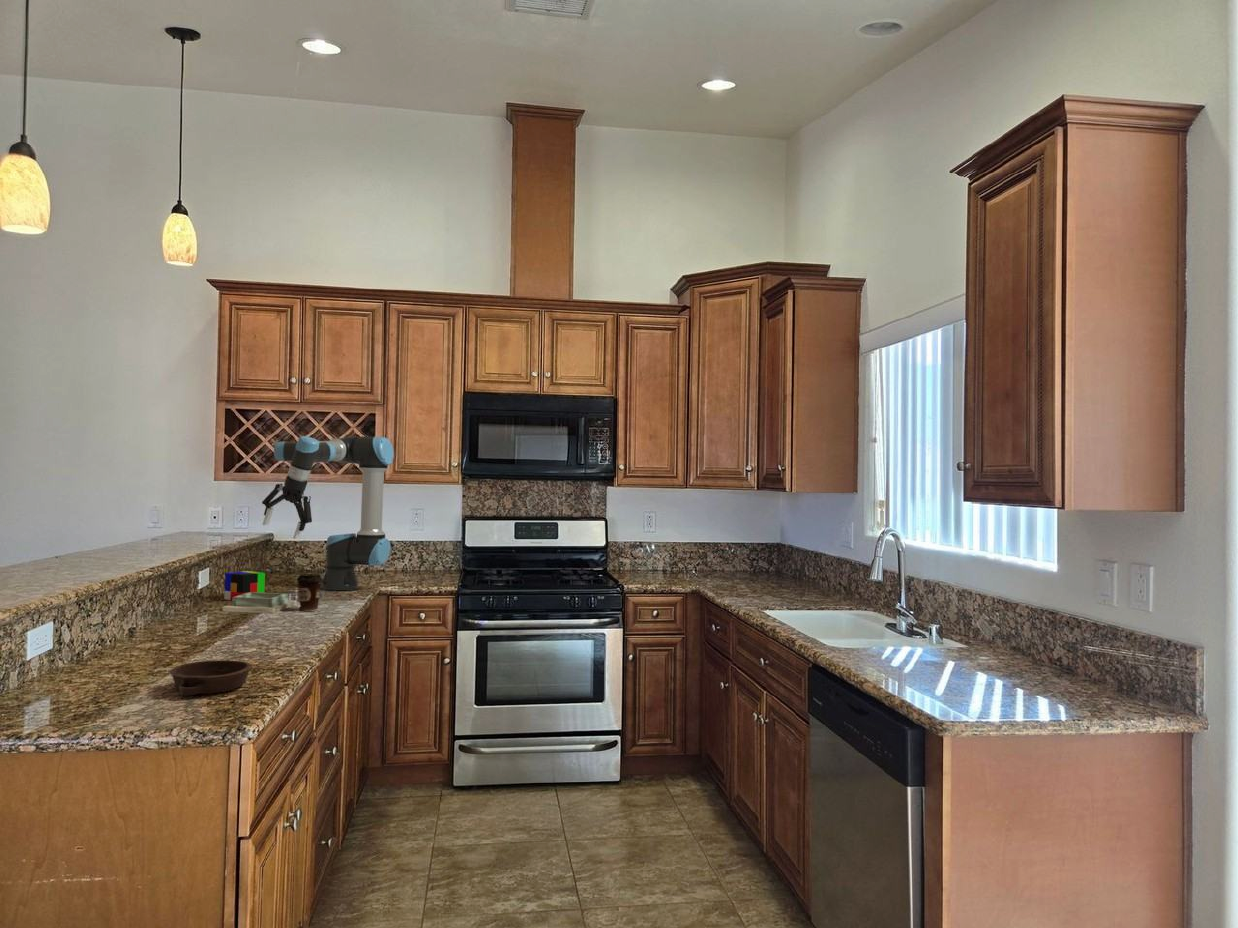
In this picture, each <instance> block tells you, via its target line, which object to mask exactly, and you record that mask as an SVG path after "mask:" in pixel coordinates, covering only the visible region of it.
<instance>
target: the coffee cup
mask: <svg viewBox="0 0 1238 928" xmlns="http://www.w3.org/2000/svg"><path fill="white" fill-rule="evenodd" d="M296 580H297V583H298V584H297V592H298V602H299V605H300V606H299V611H303V612H305V611H306V612H318V611H319V609H318V606H319V601H320V595H321V583H322V581H323V577H321V574H320V573H299V575H298V577H297V578H296Z"/></svg>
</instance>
